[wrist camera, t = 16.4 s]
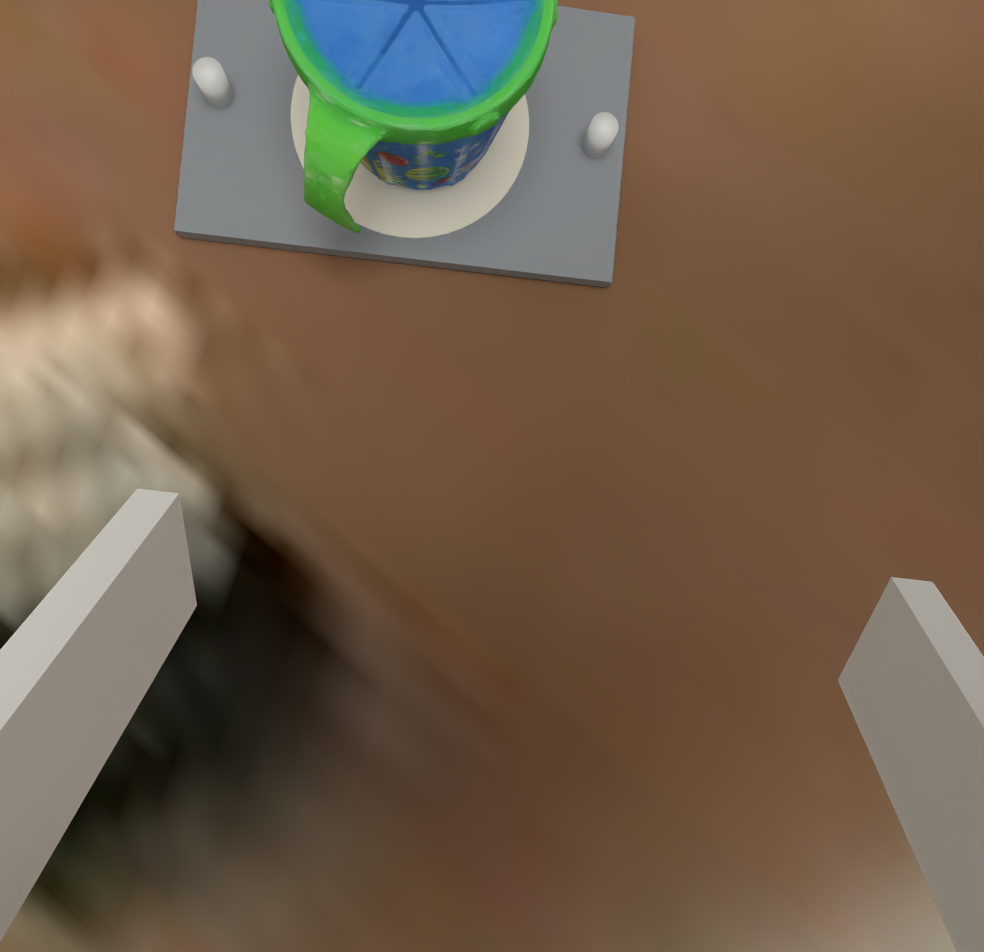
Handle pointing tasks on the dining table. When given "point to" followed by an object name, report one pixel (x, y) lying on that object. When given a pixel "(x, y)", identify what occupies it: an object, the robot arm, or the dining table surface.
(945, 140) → the dining table surface
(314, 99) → the snack cup
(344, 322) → the dining table surface
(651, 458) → the dining table surface
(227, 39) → the locating board
